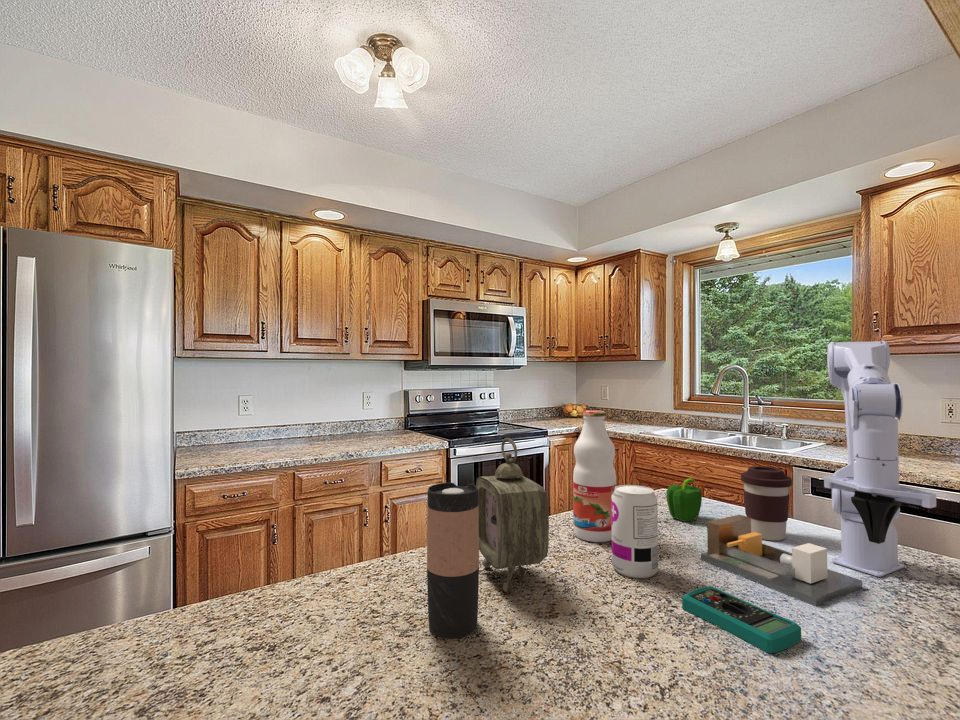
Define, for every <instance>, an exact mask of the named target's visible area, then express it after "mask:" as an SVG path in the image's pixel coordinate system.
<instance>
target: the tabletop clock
mask: <svg viewBox="0 0 960 720" xmlns="http://www.w3.org/2000/svg"><path fill="white" fill-rule="evenodd" d="M506 442H507V443H509V444H511V446H512V448H513V451H514V456H513V455H512V453H507V454H506V452H505V444H506ZM500 448H501V455H502V457H503V458H504V460H505V462H504V463H502V464H500V465H499V466H498V467H497V468H496V469H495V472H494V475H489V476H488V475H486V476H485V475H484V476H478V477H477V478H476V482H475V486H477V487H478V511H479V553H480V554H481V555H482V556H483V558H484V559H483V561H482V566H483V568H487V569H488V568H490V567H492V568H493V569H495V570H502V569H507V570H508V571H507V579H506V581H505V582H504V583H503V585H502V588H503V589H502V590H503V591H504V593H510V592H512V591H513V584H512V583H511V581H512V577H513V574H514V571H515V569H516V575H518V576H519V577H524V576H525V574H526V569H525V567H526V566H531V565H537V564H541V563H542V562H543V560H545V558H547V556H548V555H549V554H548V553H549V544H550V540H549V539H550V513H549V509H550V508H549V499H548V493H547V491H546V490H545V488H544V487H543V486H541V485H540V484H539V483H537V482H535V481H534V480H532V479H530V478H528V477H525V475H524V474H523V471H522V469H521V468H520V466H519V464H517V463H515V462H516V460H517V458H518V450H517V449H518V448H517V445H516V442H515V441H514V440H513V439H511V438H509V437H505V438H504V439H502V442H501V447H500ZM523 566H525V567H523Z"/></svg>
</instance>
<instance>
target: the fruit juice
mask: <svg viewBox="0 0 960 720" xmlns="http://www.w3.org/2000/svg"><path fill="white" fill-rule="evenodd" d="M582 418H583V420H584V422H583V425H582V428H581V432H580V434H579V436H578V438H577V440H576V441H575V443H574V445H573V455H574V456H573V457H574V459H575V465H574V468H573V474H572V476H573V477H572V479H573V481H572V483H573V484H572V485H573V487H572V489H573V494H572V495H573V498H572V499H573V500H572V501H573V502H572V503H573V505H572V506H573V509H572V510H573V512H572V513H573V514H572V515H573V519H572V520H573V521H572V524H573V525H572V527H573V534H574V536H575V537H576V538H578V539H579V540H582V541H585V542H590V543H591V542H592V543H606V542H607V543H608V542H612V521H611V496H612V494H613V492H614V490H615V487H617V475H616V474H617V473H616V468H615V467H614V460H615V456H616V447H615V445H614V443H613V441H612V440H611V438H610V436H609V433H608V431H607V428H606V425H605V419H606V412H605V410H596V409H595V410H591V409H590V410H588V409H587V410H583V412H582Z"/></svg>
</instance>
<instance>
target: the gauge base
mask: <svg viewBox="0 0 960 720" xmlns="http://www.w3.org/2000/svg"><path fill="white" fill-rule="evenodd" d="M706 524H707V525H706V526H707V527H706V529H707V532H706V533H707V536H706V537H707V543H706V544H707V552H703V553H700V561H703V562H704V561H705V562H704V563H707V564H709V563H710V565H713V566H714V567H716V568H719V567H720V569H723V570H724V569H725V571H727V572H729V571H730V573H732V572H733V573H732V574H734V573H735V575H737V576H739V575H740V576H739V577H742V578H744V577H745V579H747V578H748V579H747V580H749V579H751V580H750V581H752V580H753V581H752V582H754V581H756V582H755V583H757V582H758V583H757V584H759V583H761V584H760V585H762V584H763V585H762V586H764V585H765V587H767V588H769V587H770V588H769V589H772V588H773V589H772V590H774V589H775V591H777V590H778V591H777V592H779V591H780V593H782V592H783V593H782V594H784V593H785V595H787V594H788V595H787V596H789V595H790V597H792V596H793V597H792V598H794V597H795V598H794V599H797V600H799V599H800V601H802V602H804V603H807V604H810V605H812V606H814V607H818V606H820V605H822V604H825V603H827V602H830V601H832V600H835V599H838V598H840V597H843V596H845V595H847V594H851V593H853V592H855V591H858V590H860V589H863V579H859V578H856V577H852V576H850V575H846V574H843V573H840V572H838V571H834V570H832V569H828V568H827V578H825V579H823V580H820V581H817V582H814V583H811V584H810V583H808V582H805V581H802V580H800V579H797V578H795V568H793V567H790V566H787V565H784V564H781V563H780V557H781V555H782V554H783V553H785V554H788V555H791V556H792V552H789V551H786V550H783V549H780V548H777V547H774V546H771V545H768V544H766V543H762V555H761V556H758V555H755V554H753V553H750V552H747V551H744V550H741V549H738V545H735V546H732V547H728V546H727V543H730V542H734V541H738V536H741V535H745V534H749V533H751V518H750V517H747V516H746V515H743V514H736V515H732V516H727V517H722V518H717V519H713V520H709V521H707V522H706ZM817 605H818V606H817Z"/></svg>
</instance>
